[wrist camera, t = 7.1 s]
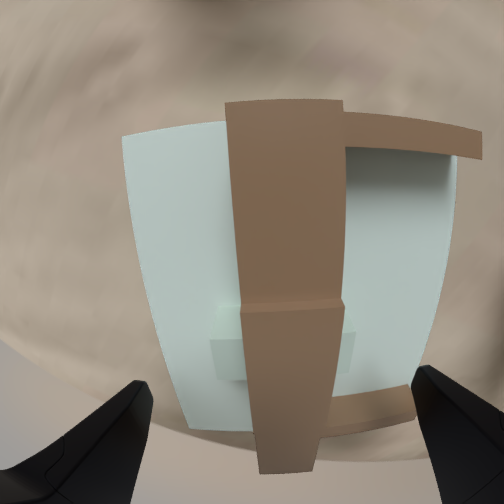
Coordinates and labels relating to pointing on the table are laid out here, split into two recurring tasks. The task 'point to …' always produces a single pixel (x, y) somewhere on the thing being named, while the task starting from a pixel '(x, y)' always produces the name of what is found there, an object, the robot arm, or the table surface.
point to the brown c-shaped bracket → (307, 265)
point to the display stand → (226, 269)
